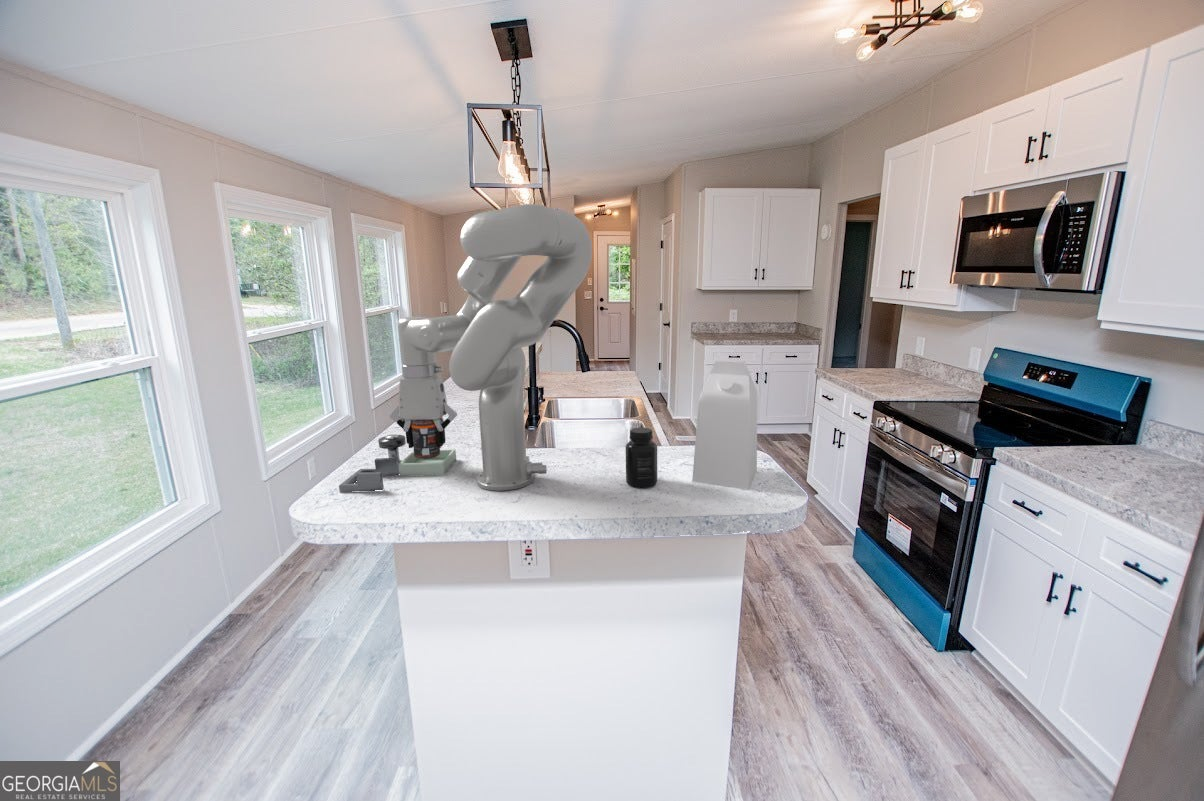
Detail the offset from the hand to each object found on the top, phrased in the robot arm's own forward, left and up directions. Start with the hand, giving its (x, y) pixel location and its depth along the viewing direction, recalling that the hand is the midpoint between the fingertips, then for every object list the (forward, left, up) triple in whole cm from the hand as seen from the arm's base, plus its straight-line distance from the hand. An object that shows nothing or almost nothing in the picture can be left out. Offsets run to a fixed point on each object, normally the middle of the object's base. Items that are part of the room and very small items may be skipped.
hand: (426, 445), depth 120 cm
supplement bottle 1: (0, 0, -3) cm, 3 cm away
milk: (-69, +9, -6) cm, 70 cm away
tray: (0, 0, -6) cm, 6 cm away
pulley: (+9, -2, -6) cm, 11 cm away
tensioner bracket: (+10, +9, -6) cm, 15 cm away
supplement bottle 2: (-50, +12, -6) cm, 52 cm away
